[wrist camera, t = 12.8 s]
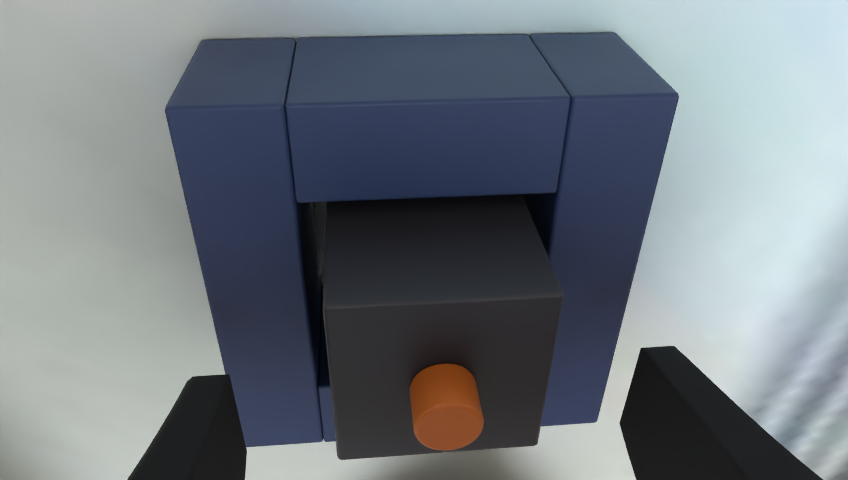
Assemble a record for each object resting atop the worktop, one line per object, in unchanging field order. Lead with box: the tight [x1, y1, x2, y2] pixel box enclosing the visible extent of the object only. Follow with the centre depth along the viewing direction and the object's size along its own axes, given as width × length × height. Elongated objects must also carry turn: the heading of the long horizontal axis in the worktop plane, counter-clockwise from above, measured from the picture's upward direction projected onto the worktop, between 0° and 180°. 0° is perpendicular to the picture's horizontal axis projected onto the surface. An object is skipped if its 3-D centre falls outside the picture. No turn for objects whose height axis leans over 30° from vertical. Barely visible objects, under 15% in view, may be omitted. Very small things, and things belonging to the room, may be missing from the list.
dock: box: [165, 33, 679, 447], centre depth 15 cm, size 9×9×4 cm
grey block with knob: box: [323, 194, 564, 460], centre depth 14 cm, size 4×4×7 cm
